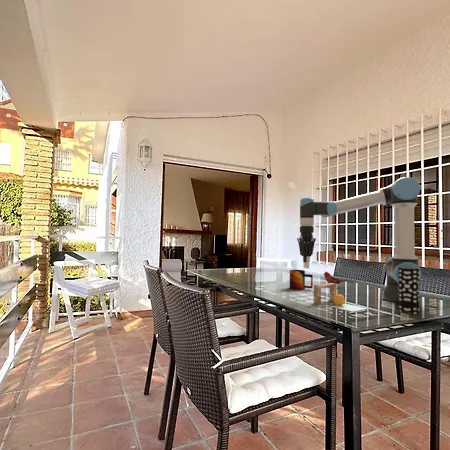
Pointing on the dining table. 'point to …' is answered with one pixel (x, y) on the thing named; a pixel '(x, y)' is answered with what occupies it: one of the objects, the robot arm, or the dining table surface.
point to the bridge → (318, 292)
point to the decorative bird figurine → (332, 278)
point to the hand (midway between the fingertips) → (306, 268)
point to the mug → (299, 280)
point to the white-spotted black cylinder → (408, 290)
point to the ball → (339, 299)
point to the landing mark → (349, 307)
